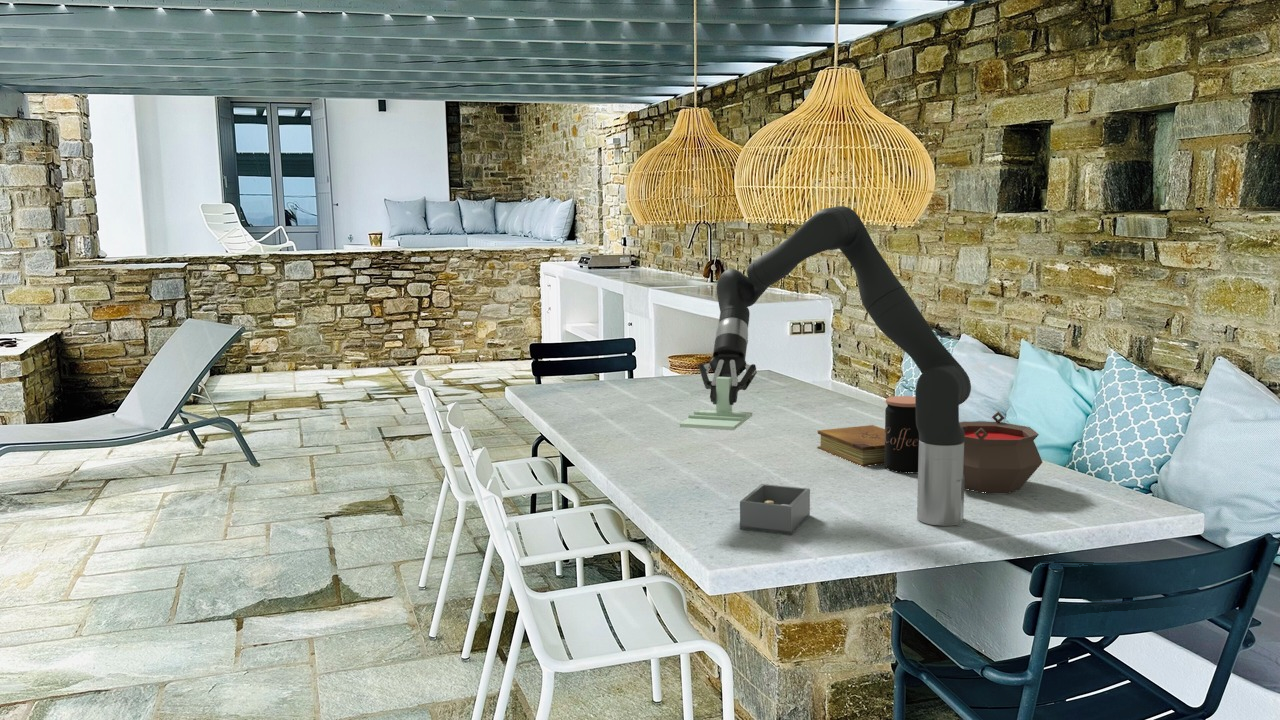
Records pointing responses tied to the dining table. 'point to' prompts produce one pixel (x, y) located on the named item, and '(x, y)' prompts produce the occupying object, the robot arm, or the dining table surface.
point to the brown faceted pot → (998, 455)
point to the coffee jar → (901, 434)
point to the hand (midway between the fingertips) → (722, 402)
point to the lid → (718, 411)
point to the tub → (775, 509)
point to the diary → (855, 444)
